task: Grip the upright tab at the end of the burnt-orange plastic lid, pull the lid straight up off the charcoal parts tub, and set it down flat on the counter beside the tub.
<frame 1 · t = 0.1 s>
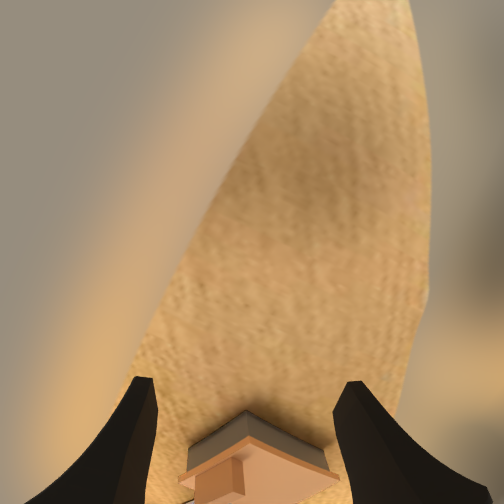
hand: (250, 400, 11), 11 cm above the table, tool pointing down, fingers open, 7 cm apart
tub: (258, 452, 27), on the table
lid: (261, 480, 23), point 3 cm above the table, touching tub
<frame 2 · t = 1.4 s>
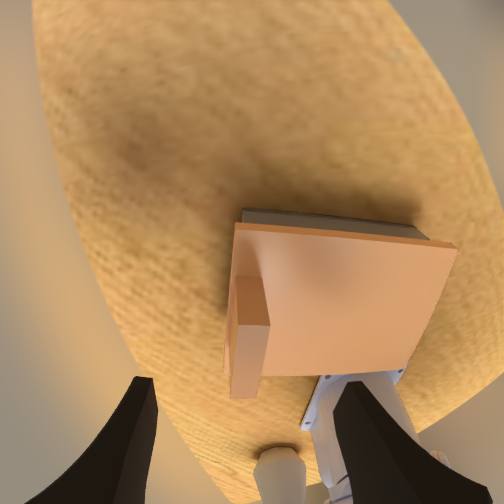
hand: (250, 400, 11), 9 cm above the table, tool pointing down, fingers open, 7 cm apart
tub: (323, 275, 20), on the table
salt shaker: (277, 452, 31), on the table
lid: (339, 309, 17), point 3 cm above the table, touching tub
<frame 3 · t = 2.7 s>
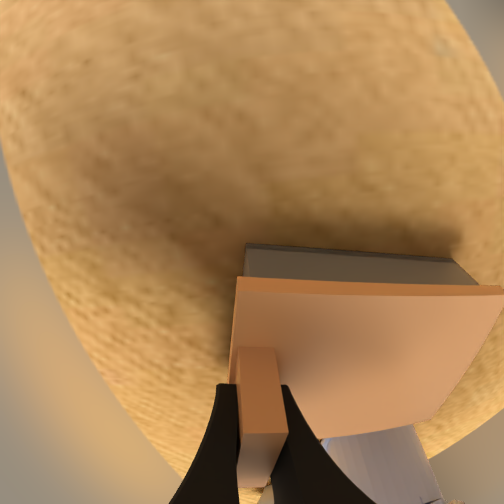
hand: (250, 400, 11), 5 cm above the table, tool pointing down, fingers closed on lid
tub: (344, 321, 16), on the table
salt shaker: (281, 486, 27), on the table
lid: (366, 369, 13), point 3 cm above the table, touching gripper, tub
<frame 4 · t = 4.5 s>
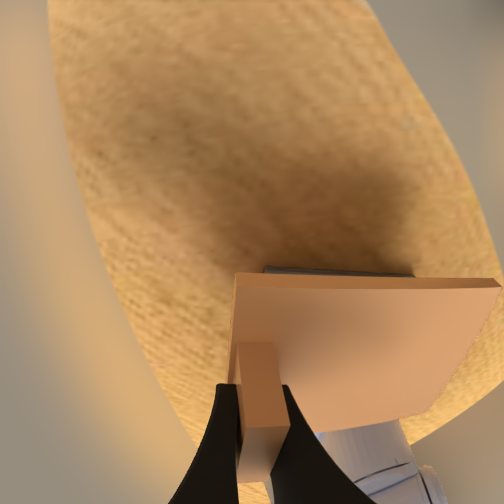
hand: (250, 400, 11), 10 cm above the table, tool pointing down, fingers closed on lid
tub: (332, 319, 22), on the table
lid: (363, 363, 13), point 8 cm above the table, touching gripper
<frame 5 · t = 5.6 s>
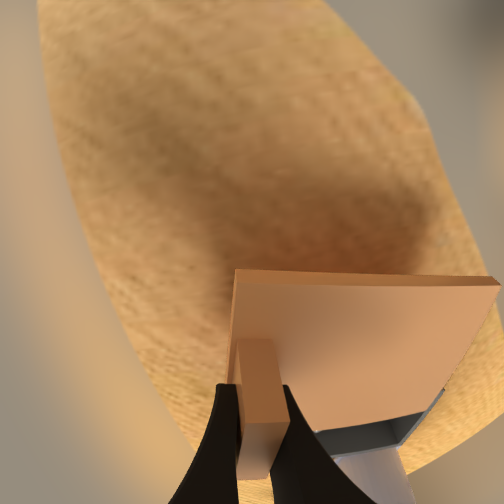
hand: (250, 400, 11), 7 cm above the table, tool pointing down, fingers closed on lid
tub: (352, 398, 23), on the table
lid: (362, 360, 13), point 5 cm above the table, touching gripper
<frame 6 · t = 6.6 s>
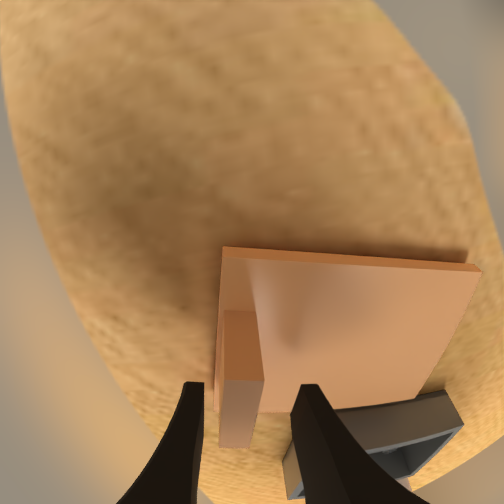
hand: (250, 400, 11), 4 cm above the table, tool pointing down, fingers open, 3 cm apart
tub: (363, 432, 20), on the table
lid: (346, 341, 14), on the table
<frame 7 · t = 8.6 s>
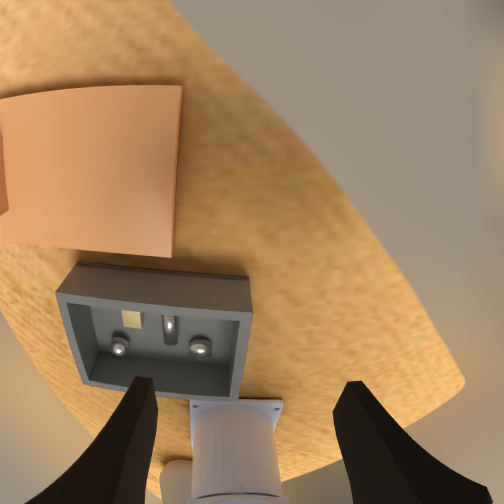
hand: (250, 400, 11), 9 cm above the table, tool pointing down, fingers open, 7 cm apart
tub: (160, 320, 21), on the table
salt shaker: (184, 464, 32), on the table
lid: (72, 169, 15), point 1 cm above the table
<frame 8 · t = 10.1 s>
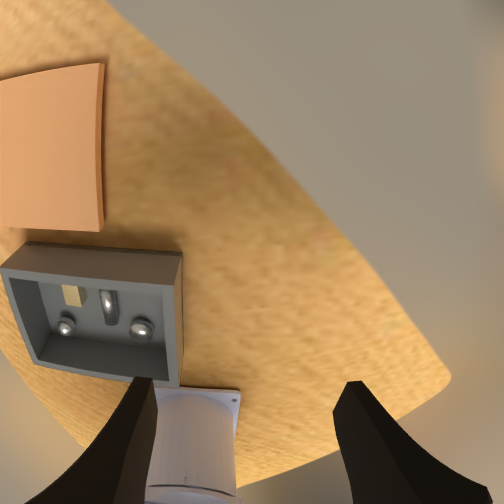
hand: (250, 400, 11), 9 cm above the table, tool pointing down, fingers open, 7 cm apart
tub: (103, 300, 20), on the table
lid: (15, 152, 14), point 1 cm above the table
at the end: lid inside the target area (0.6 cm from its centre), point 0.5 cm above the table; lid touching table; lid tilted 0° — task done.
